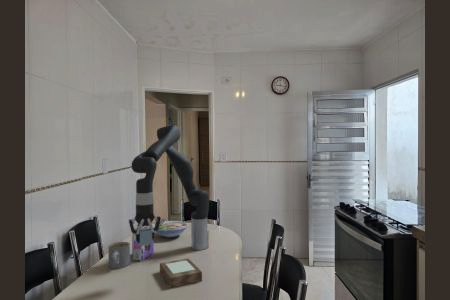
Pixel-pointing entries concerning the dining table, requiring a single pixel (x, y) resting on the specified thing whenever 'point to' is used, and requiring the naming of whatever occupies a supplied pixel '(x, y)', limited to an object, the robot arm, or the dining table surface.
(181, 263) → the walnut base
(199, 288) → the dining table surface
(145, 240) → the slate block
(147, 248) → the candy box
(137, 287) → the dining table surface
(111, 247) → the coffee mug
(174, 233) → the ramen bowl
